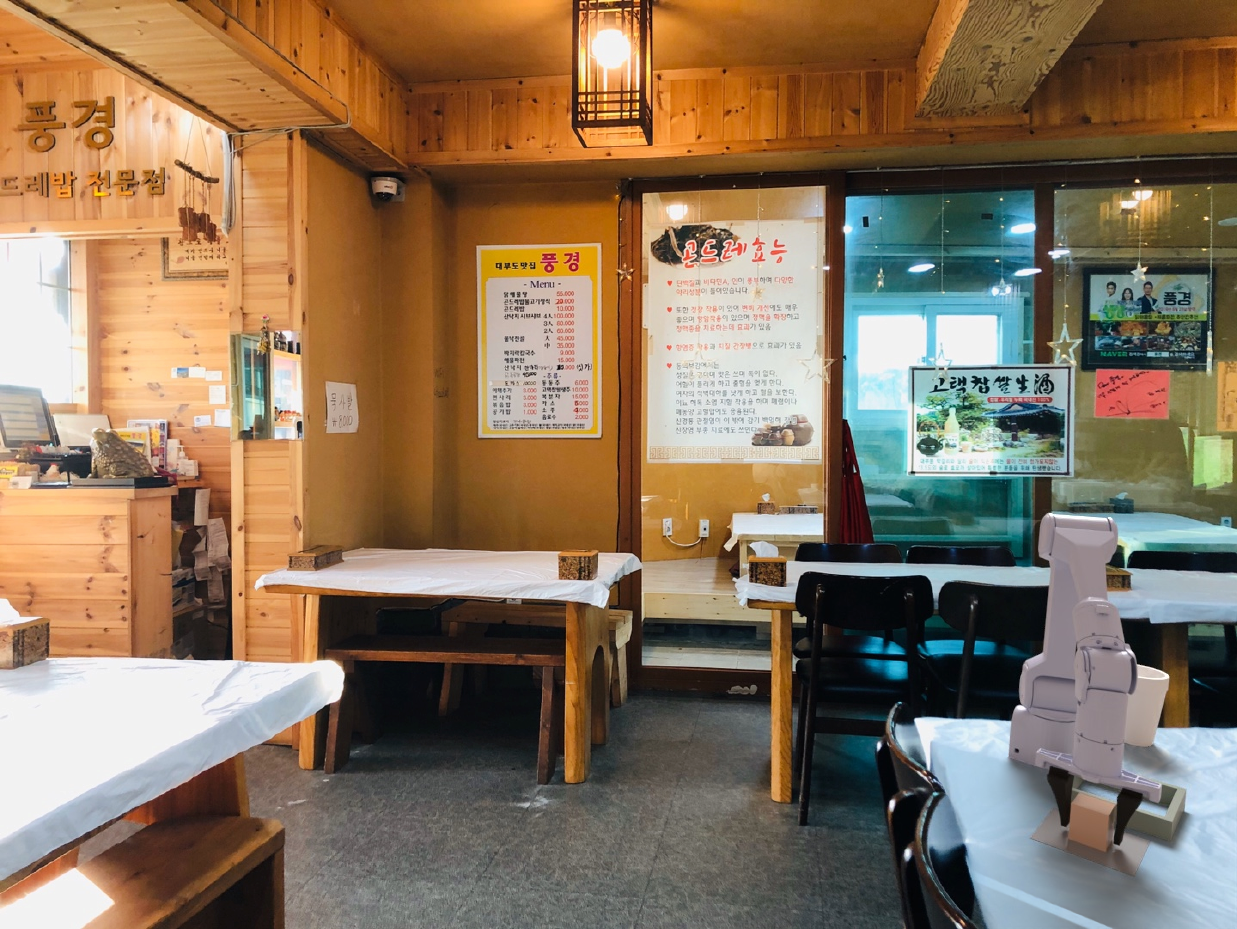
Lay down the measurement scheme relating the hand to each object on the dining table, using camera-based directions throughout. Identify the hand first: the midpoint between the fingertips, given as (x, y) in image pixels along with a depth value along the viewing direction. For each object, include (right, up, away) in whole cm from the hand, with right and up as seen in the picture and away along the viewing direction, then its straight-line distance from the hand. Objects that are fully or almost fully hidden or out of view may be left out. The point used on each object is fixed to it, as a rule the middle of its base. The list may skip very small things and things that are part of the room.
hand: (1091, 833), depth 106 cm
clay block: (0, -1, 0) cm, 1 cm away
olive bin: (+11, -2, +10) cm, 15 cm away
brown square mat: (0, -2, 0) cm, 2 cm away
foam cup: (+31, -1, +38) cm, 49 cm away
